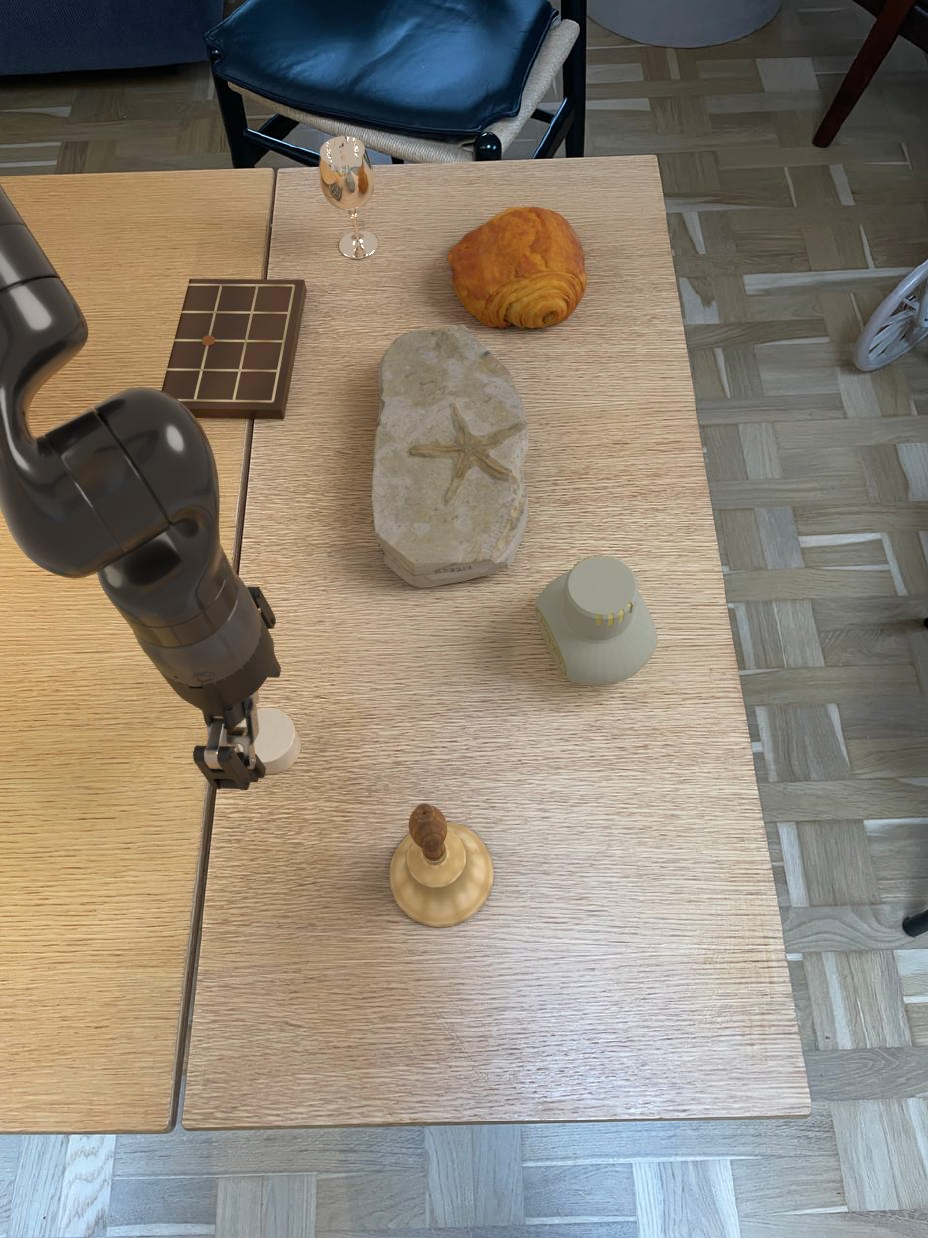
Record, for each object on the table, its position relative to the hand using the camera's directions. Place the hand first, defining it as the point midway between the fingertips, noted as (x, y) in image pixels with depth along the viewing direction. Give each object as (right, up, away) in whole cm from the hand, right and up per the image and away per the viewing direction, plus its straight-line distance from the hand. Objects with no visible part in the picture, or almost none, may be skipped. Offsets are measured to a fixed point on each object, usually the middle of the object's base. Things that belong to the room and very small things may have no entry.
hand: (260, 722), depth 78 cm
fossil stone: (+15, +23, +18) cm, 33 cm away
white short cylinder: (0, -3, +5) cm, 6 cm away
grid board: (-10, +37, +26) cm, 46 cm away
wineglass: (+4, +50, +33) cm, 60 cm away
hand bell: (+14, -12, 0) cm, 19 cm away
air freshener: (+28, +6, +9) cm, 30 cm away
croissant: (+22, +45, +29) cm, 57 cm away
